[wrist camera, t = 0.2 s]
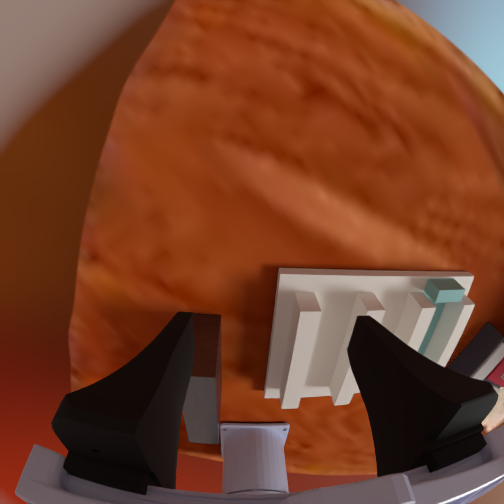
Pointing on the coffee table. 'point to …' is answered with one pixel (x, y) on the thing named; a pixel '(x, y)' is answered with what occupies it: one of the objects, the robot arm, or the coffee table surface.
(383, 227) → the coffee table surface
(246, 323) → the coffee table surface
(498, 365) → the calculator
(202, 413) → the panel
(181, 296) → the coffee table surface
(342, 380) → the rack
